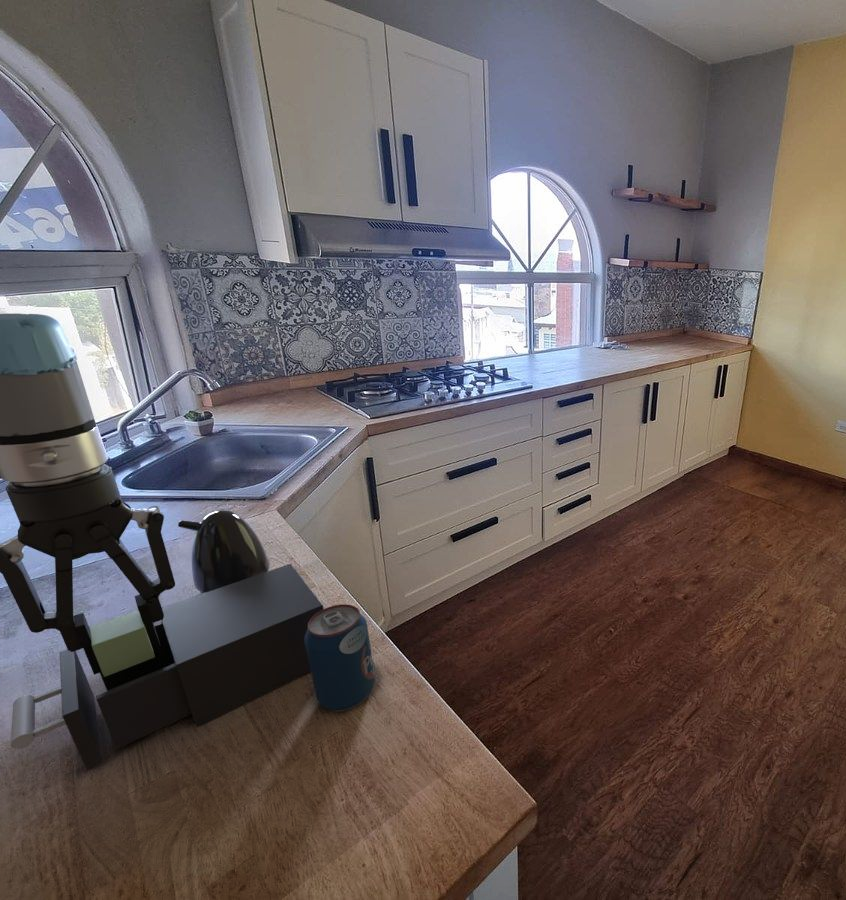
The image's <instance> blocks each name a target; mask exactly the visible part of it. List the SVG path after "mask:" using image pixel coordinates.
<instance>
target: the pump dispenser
mask: <svg viewBox="0 0 846 900" xmlns="http://www.w3.org/2000/svg"><path fill="white" fill-rule="evenodd" d="M177 526H178V528H181V529H186V530H190V531H194V532H195V536H194V539H193V543H192V549H191V561H190V562H191V575H192V581H193V585H194V587H195V589H196V591H198V592H200V593H201V594H204V593H206V592H209V591H212V590H215V589H218V588H221V587H224V586H227V585H230V584H233V583H236V582H239V581H241V580H244V579H247V578H250V577H253V576H256V575H259V574H262V573H265V572H268V571H270V567H271V565H270V564H271V563H270V560H269V556H268V555H267V552H266V549H265V548H264V546H263V544H262V541H261V540H260V538H259V537H258V535H257V533H256V532H255V531H254V530H253V528H252V527H251V526H250V524H249V523H248V522H247V521H246V520H245V519H244V518H243V517H242V516H240V515H239V514H238V513H236V512H234V511H231V510H227V509H220V510H215V511H211V512H210V513H207V514H206V515H205V516H204V517H203V518H202V520H201V521H190V520H179V521H178V523H177Z"/></svg>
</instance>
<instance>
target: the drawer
mask: <svg viewBox="0 0 846 900" xmlns="http://www.w3.org/2000/svg"><path fill="white" fill-rule="evenodd" d="M153 624H154V627H155V630H156V633H157V636H158V639H159V642H160V646H161V649H160V650H157V651H154V655H155V657H154V658H152V659H149V660H147V661H144V662H142V663H139V664H136V665H134V666H131V667H129V668H126V669H124V670H121V671H119V672H116V673H114V674H111V675H108V676H106V677H104V676H103V673H102V672H100V673H99V675H100V677H101V680H102V682H103V684H104V687H105V690H106V691H104V692H102V693H99V694H96V695H95V694H94V692H93V690H92V688H91V685H90V683H89V681H88V677H87V675H86V674H85V670H84V668H83V666H82V663H81V661H80V659H79V656H78V654H77V651H74V652H71V651H69V650H68V649H65V650H61V651H60V652H59V666H60V667H59V668H60V670H59V671H60V686H58V687H56V688H53V689H50V690H47V691H45V692H43V693H39V694H37V695H35V696H34V695H32V694H24V695H21V696H18V697H17V698H16V699H15V700H14V701H13V703H12V717H11V733H10V747H11V748H12V749H15V750H20V749H24V748H27V747H28V746H30V745H32V743H34V741H35V738H37V737H40V736H42V735H44V734H46V733H49V732H51V731H53V730H56V729H59V728H61V727H63V726H65V725H66V727H67V729H68V731H69V734H70V736H71V738H72V740H73V743H74V745H75V748H76V749H77V751H78V754H79V756H80V758H81V761H82V763H83V764H84V765H83V766H84V767H85V769H86V770H87V771H88V770H90V769H92V768H94V767H97V766H99V765H101V764H102V763H103V760H102V750H101V742H100V733H99V724H98V715H97V707H96V703H97V704H98V707H99V709H100V712H101V715H102V717H103V719H104V721H105V724H106V726H107V729H108V731H109V733H110V736H111V738H112V741H113V743H114V746H115V748H116V749H120V748H122V747H124V746H126V745H128V744H130V743H133V742H134V741H137V740H139V739H141V738H144V737H146V736H147V735H149V734H151V733H154V732H156V731H159V730H160V729H162V728H164V727H166V726H170V725H171V724H173V723H175V722H178V721H179V720H182V719H183V718H185V717H188V716H190V715H192V713H191V710H190V707H189V704H188V701H187V698H186V695H185V692H184V689H183V686H182V683H181V680H180V677H179V674H178V671H177V668H176V665H175V662H174V658H173V655H172V652H171V649H170V646H169V643H168V640H167V636H166V633H165V630H164V627H163V624H162V621H161V620H160V621H157V622H155V623H153ZM58 695H61V712H62V713H61V716H62V718H59V719H57V720H54V721H52V722H49V723H47V724H44V725H42V726H40V727H37V728H35V725H36V723H35V722H36V704H39V703H40V702H42V701H45V700H48V699H50V698H53V697H55V696H58Z"/></svg>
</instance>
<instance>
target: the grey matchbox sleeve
mask: <svg viewBox="0 0 846 900" xmlns="http://www.w3.org/2000/svg"><path fill="white" fill-rule="evenodd" d="M323 609H325V608H324V605H323V603H322V602H321V600H320V599H319V598H318V596H317V595H316V594H315V592H314V591H313V590H312V589H311V588H310V586H309V585H308V584H307V583H306V581H305V580H304V579H303V577H302V576H301V575H300V573H299V572H298V571H297V570H296V568H295V567H294V566H293V564H292V563H288V564H286V565H283V566H279V567H276V568H274V569H271V570H268V572H265V573H262V574H259V575H256V576H253V577H250V578H247V579H244V580H241V581H239V582H236V583H233V584H230V585H227V586H224V587H221V588H218V589H215V590H212V591H209V592H206V593H204V594H202V593H201V594H198V595H195V596H192V597H189V598H187V599H184V600H181V601H177V602H175V603H171V604H169V605H166V606H163V607H162V610H163V613H164V618H163V620H160V621H162V624H163V627H164V630H165V633H166V636H167V640H168V643H169V646H170V649H171V652H172V655H173V658H174V662H175V665H176V668H177V671H178V674H179V677H180V680H181V683H182V686H183V689H184V692H185V695H186V698H187V701H188V704H189V707H190V710H191V713H192V714H191V716H192V719H193V722H194V725H195V728H199V727H201V726H203V725H205V724H207V723H209V722H211V721H214V720H216V719H218V718H220V717H222V716H224V715H226V714H228V713H230V712H232V711H235V710H236V709H238V708H240V707H242V706H244V705H247V704H248V703H251V702H253V701H254V700H257V699H258V698H261V697H262V696H265V695H266V694H269V693H271V692H273V691H275V690H277V689H280V688H281V687H283V686H285V685H288V684H290V683H292V682H294V681H296V680H297V679H300V678H302V677H304V676H307V674H309V673H310V674H311V669H310V664H309V660H308V655H307V650H306V645H305V640H304V639H305V634H306V632H307V630H308V623H309V621H310V619H311V618H312V617H313V616H314V615H315V614H316V613H318V612H319V611H321V610H323Z"/></svg>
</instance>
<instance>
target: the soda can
mask: <svg viewBox="0 0 846 900" xmlns="http://www.w3.org/2000/svg"><path fill="white" fill-rule="evenodd" d="M304 640H305V645H306V650H307V655H308V660H309V664H310V669H311V672H310V674H311V678H312V679H311V680H312V683H313V688H314V692H315V697H316V698H315V699H316V700H317V702H318V703H319V704H320V705H321V706H322V707H324V708H326V709H328V710H330V711H332V712H346V711H349V710H352V709H354V708H356V707H358V706H360V705H361V704H362V703H363V702H364V701H366V700H367V698H368V696H369V695H370V694H371V692H372V690H373V688H374V686H375V684H376V672H375V671H376V670H375V666H374V658H373V653H372V648H371V647H372V646H371V640H370V635H369V628H368V622H367V619H366V618H365V617H364V615H363V614H362V613H361V612H360V610H359V608H358V607H356V606H355V605H352V604H346V603H345V604H344V603H343V604H342V603H341V604H335V605H331V606H328V607H325V608H324V609H323V610H321V611H319V612H318V613H316V614H315V615H314V616H313V617H312V618H311V619H310V621H309V623H308V630H307V632H306V634H305V639H304Z"/></svg>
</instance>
